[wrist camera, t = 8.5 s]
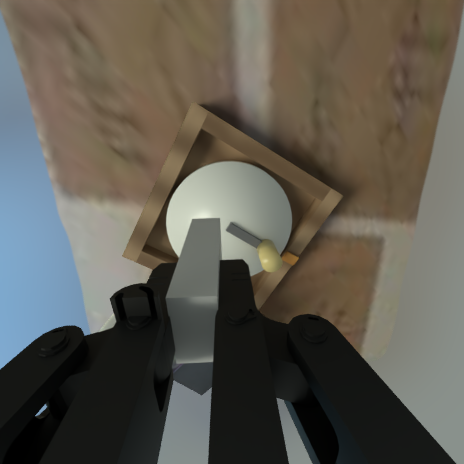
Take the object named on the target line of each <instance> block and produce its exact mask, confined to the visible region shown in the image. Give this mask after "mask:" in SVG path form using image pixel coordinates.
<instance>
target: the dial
mask: <svg viewBox="0 0 464 464" xmlns="http://www.w3.org/2000/svg"><path fill="white" fill-rule="evenodd" d="M199 218H220V226H221V247H222V260H232V259H243V260H244V261H245V262H246V263H247V264H248V265H249V271H250V276H253V275H255V274H257V273H259V272H261V271H263V270H265V271H267V272H275V271H278V270H279V269H280V268H281V266H282V258H281V256H280V254H281V253H282V251H283V250H284V248H285V246H286V244H287V242H288V239H289V237H290V233H291V227H292V213H291V208H290V204H289V201H288V198H287V196H286V194H285V192H284V190H283V189H282V188H281V186H280V185H279V184H278V183H277V182H276V181H275V180H274V178H272V177H271V176H270V175H269V174H267V173H266V172H265V171H263V170H262V169H260V168H258V167H257V166H254V165H252V164H249V163H246V162H242V161H234V160H223V161H217V162H213V163H210V164H207V165H204V166H202V167H200V168H198V169H197V170H195V171H194V172H192V173H191V174H190V175H189V176H187V177H186V178H185V179H184V181H183V182H182V183H181V184H180V185H179V187H178V188H177V189H176V191H175V193H174V194H173V196H172V198H171V200H170V203H169V206H168V210H167V216H166V227H167V234H168V237H169V241H170V243H171V245H172V248H173V249H174V251H175V253H176V254H177V255H178V257H180V254H181V251H182V248H183V245H184V242H185V239H186V236H187V233H188V230H189V227H190V224H191V221H192V219H199Z"/></svg>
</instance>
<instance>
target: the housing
mask: <svg viewBox="0 0 464 464" xmlns="http://www.w3.org/2000/svg"><path fill="white" fill-rule="evenodd" d="M223 160H234V161H242V162H246V163H249V164H252V165H254V166H257V167H258V168H260V169H262V170H263V171H265V172H266V173H267V174H269V175H270V176H271V177H272V178H274V180H275V181H276V182H277V183H278V184H279V185H280V186H281V188H282V189H283V190H284V192H285V194H286V196H287V198H288V201H289V204H290V208H291V213H292V227H291V233H290V237H289V239H288V242H287V244H286V246H285V248H284V250H283V251H282V253H281V254H280V256H281V258H282V266H281V268H280V269H279V270H278V271H275V272H267V271H265V270H263V271H261V272H259V273H257V274H255V275H253V276H251V282H252V287H253V293H254V298H255V304H256V307H257V309H258V310H259V309H260V308H261V306H262V305H263V304H264V302H265V301H266V300H267V298H268V297H269V296H270V294H271V293H272V292H273V290H274V289H275V287H276V286H277V285H278V283H279V282H280V281H281V279H282V278H283V277H284V275H285V274H286V273H287V271H288V270H289V269H290V267H291V266H292V265H293V266H294V264H295V263H296V261H297V260H298V259H299V257H298V256H299V255H300V254H301V252H302V251H303V250H304V248H305V247H306V246H307V244H308V243H309V241H310V240H311V239H312V237H313V236H314V235H315V233H316V232H317V231H318V229H319V228H320V227H321V225H322V224H323V222H324V221H325V220H326V218H327V217H328V216H329V214H330V213H331V212H332V210H333V209H334V208H335V206H336V205H337V204H338V202H339V201H340V199H341V198H342V197H343V195H341V194H340V193H338V192H336V191H335V190H333V189H332V188H330V187H328V186H327V185H325V184H324V183H322V182H320V181H319V180H317V179H316V178H314V177H312V176H311V175H309V174H308V173H306V172H305V171H303V170H301V169H300V168H298V167H297V166H295V165H293V164H292V163H290V162H289V161H287V160H285V159H284V158H282V157H281V156H279V155H277V154H276V153H274V152H273V151H271V150H269V149H268V148H266V147H265V146H263V145H262V144H260V143H258V142H257V141H255V140H254V139H252V138H250V137H249V136H247V135H246V134H244V133H242V132H241V131H239V130H238V129H236V128H234V127H233V126H231V125H230V124H228V123H226V122H225V121H223V120H222V119H220V118H218V117H217V116H215V115H214V114H212V113H211V112H209V111H207V110H206V109H204V108H203V107H201V106H199V105H198V104H196V103H195V102H192V104H191V107H190V109H189V111H188V113H187V115H186V117H185V120H184V122H183V124H182V126H181V128H180V131H179V133H178V135H177V137H176V139H175V142H174V144H173V146H172V148H171V150H170V152H169V155H168V157H167V159H166V161H165V163H164V166H163V168H162V170H161V172H160V174H159V177H158V179H157V181H156V183H155V185H154V187H153V190H152V192H151V194H150V196H149V198H148V201H147V203H146V205H145V207H144V209H143V212H142V214H141V216H140V218H139V220H138V222H137V225H136V227H135V229H134V231H133V233H132V236H131V238H130V240H129V242H128V244H127V247H126V249H125V251H124V253H123V255H122V256H123V257H125V258H127V259H130V260H132V261H134V262H136V263H139V264H141V265H143V266H146V267H148V268H150V269H155V268H156V267H157V266H158V265H159V264H161V263H175V262H178V260H179V257H178V255H177V254H176V253H175V251H174V249H173V248H172V245H171V243H170V241H169V237H168V234H167V227H166V216H167V210H168V206H169V203H170V200H171V198H172V196H173V194H174V193H175V191H176V189H177V188H178V187H179V185H180V184H181V183H182V182H183V181H184V179H185V178H186V177H187V176H189V175H190V174H191V173H192V172H194V171H195V170H197V169H198V168H200V167H202V166H204V165H207V164H210V163H213V162H217V161H223Z"/></svg>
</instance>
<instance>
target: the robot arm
mask: <svg viewBox="0 0 464 464" xmlns="http://www.w3.org/2000/svg"><path fill="white" fill-rule="evenodd" d="M110 301H111V305H112V308H113V312H114V315H115V319H116V323H115V325H114V327H113V328H110V329H107V330H104V331H101V332H97V333H93V334H90V335H86V336H84V333H83V331H82V329H81V328H79V327H77V326H63V327H59V328H55V329H53V330H51V331H49V332H47V333H45V334H43V335H42V336H40V337H39V338H37V339H36V340H34V341H33V342H32V343H31V344H30V345H28V346H27V347H26V348H25V349H24V350H23V351H21V352H20V353H19V354H18V355H17V356H16V357H14V358H13V359H12V360H11V361H10V362H9V363H7V364H6V365H5V366H4V367H3V368H1V369H0V464H157V462H158V456H159V451H160V447H161V441H162V436H163V431H164V426H165V421H166V416H167V410H168V405H169V400H170V395H171V390H172V385H173V369H172V364H173V360H174V355H175V358H176V364H180V363H202V362H213V373H212V394H211V415H210V436H209V458H208V464H289V462H288V456H287V451H286V447H285V441H284V436H283V431H282V426H281V420H280V415H279V410H278V404H277V399H276V398H280V399H283V400H284V402H285V404H286V406H287V408H288V411H289V413H290V415H291V417H292V420H293V422H294V424H295V426H296V428H297V430H298V433H299V435H300V437H301V439H302V441H303V444H304V446H305V448H306V450H307V452H308V454H309V457H310V459H311V461H312V463H313V464H456V463H455V462H454V461H453V459H452V458H451V457H450V456H449V455H448V454H447V453H446V452H445V451H444V449H443V448H442V447H441V446H440V445H439V444H438V443H437V441H436V440H435V439H434V438H433V437H432V436H431V435H430V433H429V432H428V431H427V430H426V429H425V428H424V427H423V426H422V424H421V423H420V422H419V421H418V420H417V419H416V418H415V416H414V415H413V414H412V413H411V412H410V411H409V410H408V409H407V407H406V406H405V405H404V404H403V403H402V402H401V401H400V399H399V398H397V396H396V395H395V394H394V393H393V392H392V390H391V389H390V388H389V387H388V386H387V385H386V384H385V383H384V381H383V380H382V379H381V378H380V377H379V376H378V375H377V373H376V372H375V371H374V370H373V369H372V368H371V367H370V366H369V364H368V363H367V362H366V361H365V360H364V359H363V358H362V357H361V355H360V354H359V353H358V352H357V351H356V350H355V349H354V347H353V346H352V345H351V344H350V343H349V342H348V341H347V340H346V338H345V337H344V336H343V335H342V334H341V333H340V332H339V331H338V329H337V328H336V327H335V326H334V325H333V324H331V323H330V322H329V321H328V320H326V319H324V318H322V317H320V316H316V315H311V314H304V315H299V316H296V317H294V318H293V319H292V320H291V321H290V322H289V324H286V323H281V322H277V321H273V320H270V319H268V318H266V317H265V316H263V315H262V314H261V313H260V312H259V311H258V309H257V307H256V304H255V298H254V293H253V287H252V282H251V276H250V271H249V265H248V264H247V263H246V262H245V261H244V260H243V259H232V260H222V247H221V226H220V218H199V219H192V221H191V224H190V227H189V230H188V233H187V236H186V239H185V242H184V245H183V248H182V251H181V254H180V257H179V260H178V262H175V263H161V264H159V265H158V266H157V267H156V268H155V269H153V271H152V273H151V275H150V277H149V279H148V281H147V283H146V284H144V283H140V284H133V285H130V286H127V287H124V288H122V289H121V290H119V291H117V292H116V293H115V294H114V295H113V296H112V297H111V298H110ZM45 404H46V405H47V408H46V409H45V410H44V411H43V412H42V413H41V414H40V415H38V416H35V415H36V414H37V413H38V412H39V410H40V409H41V408H42V407H43V406H44V405H45Z"/></svg>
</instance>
